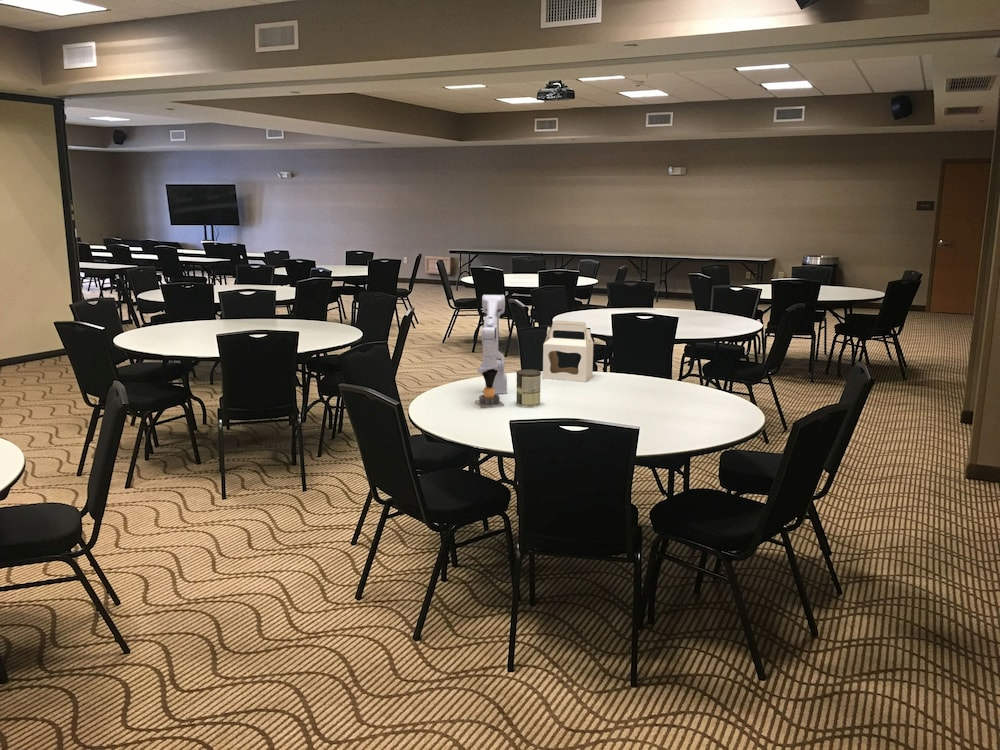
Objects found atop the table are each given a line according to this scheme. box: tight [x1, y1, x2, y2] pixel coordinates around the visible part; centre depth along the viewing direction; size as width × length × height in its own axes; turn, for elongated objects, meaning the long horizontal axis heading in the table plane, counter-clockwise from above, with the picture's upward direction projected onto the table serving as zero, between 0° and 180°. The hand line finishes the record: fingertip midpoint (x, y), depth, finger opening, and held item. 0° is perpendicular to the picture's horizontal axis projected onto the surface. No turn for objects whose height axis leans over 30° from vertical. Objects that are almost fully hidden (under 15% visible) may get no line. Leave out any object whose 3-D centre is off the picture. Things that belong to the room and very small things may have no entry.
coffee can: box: [515, 368, 542, 408], centre depth 323 cm, size 10×10×14 cm
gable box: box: [542, 320, 594, 383], centre depth 375 cm, size 22×13×28 cm, turn 70°
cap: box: [483, 387, 496, 398], centre depth 323 cm, size 4×4×6 cm
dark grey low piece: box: [474, 394, 505, 409], centre depth 323 cm, size 10×10×4 cm
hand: (489, 387), depth 322 cm, fingers closed
